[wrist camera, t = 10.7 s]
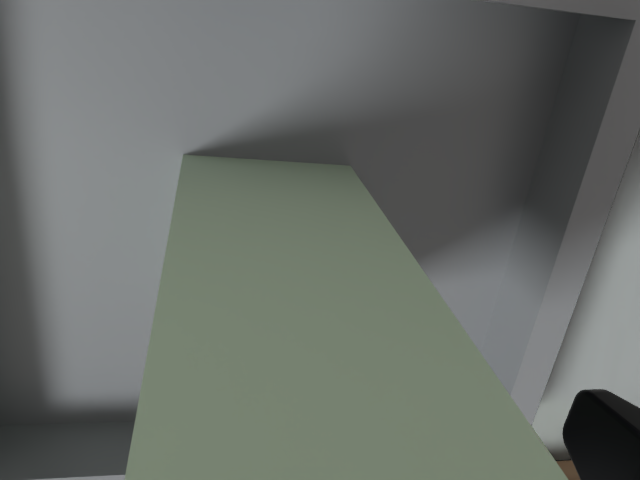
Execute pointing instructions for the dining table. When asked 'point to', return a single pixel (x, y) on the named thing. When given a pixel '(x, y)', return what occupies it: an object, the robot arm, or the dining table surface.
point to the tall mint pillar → (311, 344)
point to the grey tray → (293, 146)
